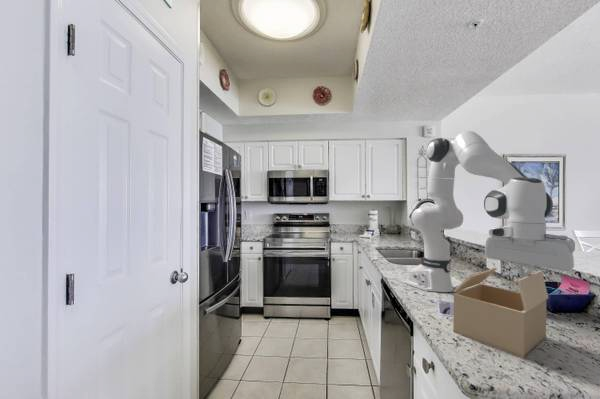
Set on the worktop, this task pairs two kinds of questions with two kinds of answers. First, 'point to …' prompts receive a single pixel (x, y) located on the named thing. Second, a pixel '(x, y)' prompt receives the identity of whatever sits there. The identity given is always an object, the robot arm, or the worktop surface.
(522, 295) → the flap
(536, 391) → the worktop surface
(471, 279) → the flap
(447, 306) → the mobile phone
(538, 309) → the carton
